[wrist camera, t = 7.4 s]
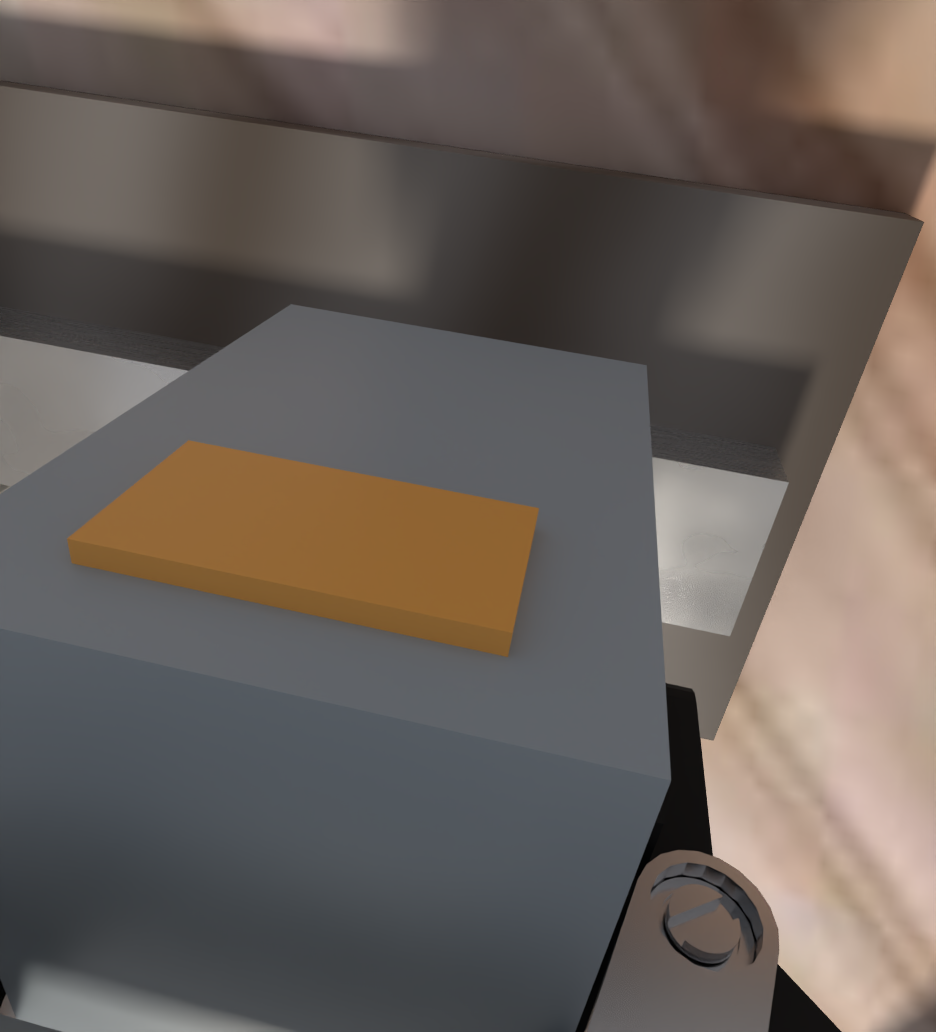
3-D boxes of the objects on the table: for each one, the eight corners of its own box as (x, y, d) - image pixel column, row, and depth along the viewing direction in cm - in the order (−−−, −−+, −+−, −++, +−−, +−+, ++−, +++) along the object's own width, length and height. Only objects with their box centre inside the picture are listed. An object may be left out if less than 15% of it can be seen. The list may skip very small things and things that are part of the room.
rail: (774, 447, 14) (788, 482, 13) (722, 592, 16) (730, 636, 15) (-271, 257, 17) (-346, 271, 15) (-215, 402, 19) (-278, 426, 17)
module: (649, 350, 10) (680, 754, 4) (546, 767, 14) (485, 1267, 8) (291, 290, 10) (-164, 566, 4) (294, 710, 15) (64, 1140, 9)
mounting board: (904, 213, 13) (924, 222, 12) (709, 711, 19) (713, 740, 18) (-343, 30, 16) (-400, 27, 15) (-160, 520, 22) (-193, 537, 21)
